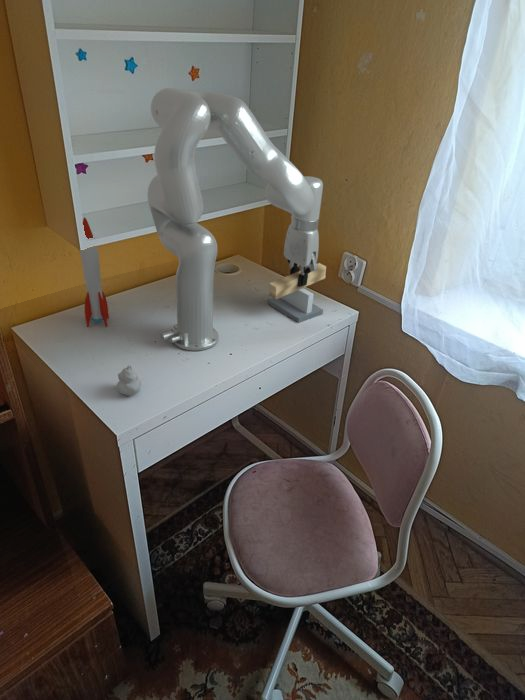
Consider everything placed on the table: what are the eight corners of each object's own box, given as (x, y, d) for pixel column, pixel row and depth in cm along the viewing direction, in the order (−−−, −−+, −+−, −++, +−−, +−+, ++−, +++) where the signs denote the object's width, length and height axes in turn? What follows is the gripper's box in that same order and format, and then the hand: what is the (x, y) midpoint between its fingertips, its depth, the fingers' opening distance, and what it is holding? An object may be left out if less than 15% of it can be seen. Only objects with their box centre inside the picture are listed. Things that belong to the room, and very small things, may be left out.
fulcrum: (298, 322, 147) (301, 300, 143) (268, 304, 156) (270, 282, 152) (322, 314, 153) (325, 292, 149) (292, 296, 162) (294, 275, 157)
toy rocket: (107, 327, 138) (95, 221, 122) (86, 327, 137) (71, 221, 121) (109, 317, 143) (98, 214, 126) (89, 317, 142) (75, 213, 126)
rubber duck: (127, 402, 112) (123, 374, 108) (110, 389, 116) (107, 360, 111) (147, 393, 115) (145, 364, 111) (131, 380, 119) (128, 352, 115)
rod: (275, 299, 144) (275, 287, 142) (269, 295, 146) (269, 283, 144) (325, 278, 154) (326, 266, 152) (318, 274, 156) (319, 263, 154)
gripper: (275, 217, 143) (270, 276, 153) (315, 234, 132) (307, 297, 142) (295, 213, 147) (289, 270, 157) (335, 230, 137) (326, 290, 147)
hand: (298, 282), depth 150 cm, fingers closed on rod, 3 cm apart
